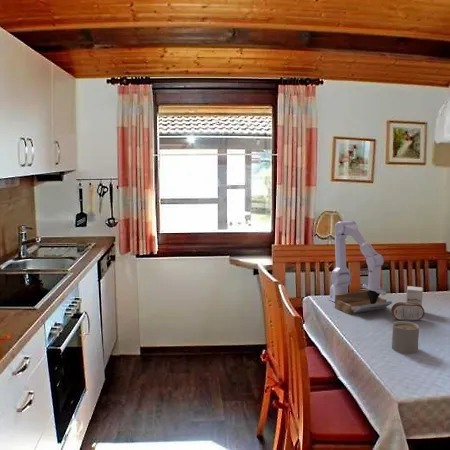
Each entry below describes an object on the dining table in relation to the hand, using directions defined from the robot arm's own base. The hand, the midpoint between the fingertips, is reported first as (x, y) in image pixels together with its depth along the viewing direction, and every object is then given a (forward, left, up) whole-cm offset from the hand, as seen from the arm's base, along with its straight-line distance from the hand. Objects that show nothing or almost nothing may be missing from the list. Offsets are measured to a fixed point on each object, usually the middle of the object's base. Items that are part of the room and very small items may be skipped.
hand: (373, 305), depth 248 cm
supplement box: (+8, +19, -4) cm, 21 cm away
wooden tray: (-9, 0, -4) cm, 10 cm away
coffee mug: (+40, -19, -4) cm, 44 cm away
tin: (+15, +8, -4) cm, 17 cm away
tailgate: (-3, 0, -2) cm, 4 cm away
